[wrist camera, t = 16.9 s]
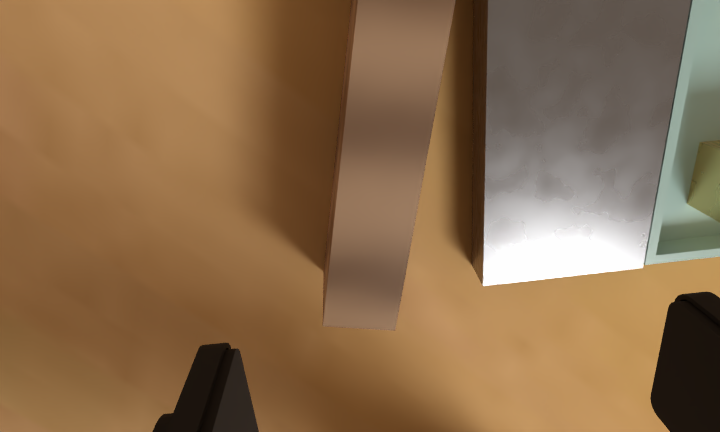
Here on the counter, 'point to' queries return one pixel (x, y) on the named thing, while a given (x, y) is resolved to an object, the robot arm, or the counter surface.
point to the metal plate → (569, 132)
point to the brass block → (706, 180)
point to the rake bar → (381, 155)
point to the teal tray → (689, 144)
